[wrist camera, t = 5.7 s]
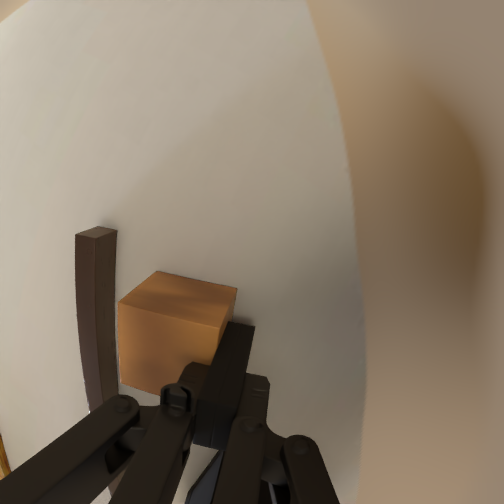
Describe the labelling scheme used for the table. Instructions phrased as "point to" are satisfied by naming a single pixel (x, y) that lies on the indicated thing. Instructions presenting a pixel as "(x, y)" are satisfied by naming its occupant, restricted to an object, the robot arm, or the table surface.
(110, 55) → the table surface
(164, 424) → the robot arm
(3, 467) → the picture frame
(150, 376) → the oak block
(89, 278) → the rail
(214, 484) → the digital camera
